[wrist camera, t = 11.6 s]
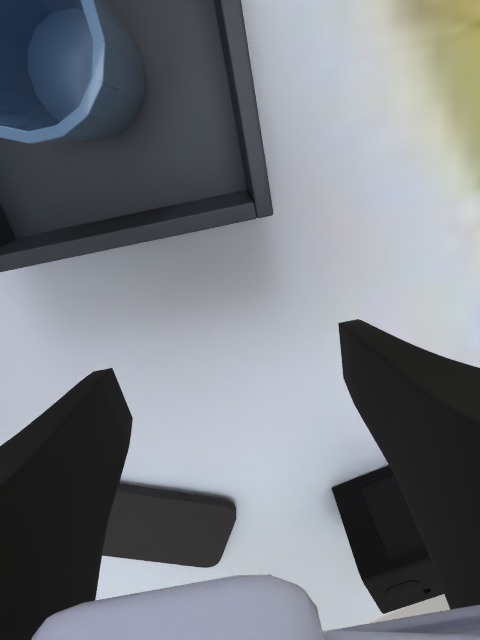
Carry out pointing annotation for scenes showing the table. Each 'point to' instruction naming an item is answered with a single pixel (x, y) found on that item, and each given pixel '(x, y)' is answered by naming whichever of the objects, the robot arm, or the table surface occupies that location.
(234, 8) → the tub
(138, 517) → the phone
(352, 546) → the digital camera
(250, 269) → the table surface
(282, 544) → the table surface
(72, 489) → the robot arm
